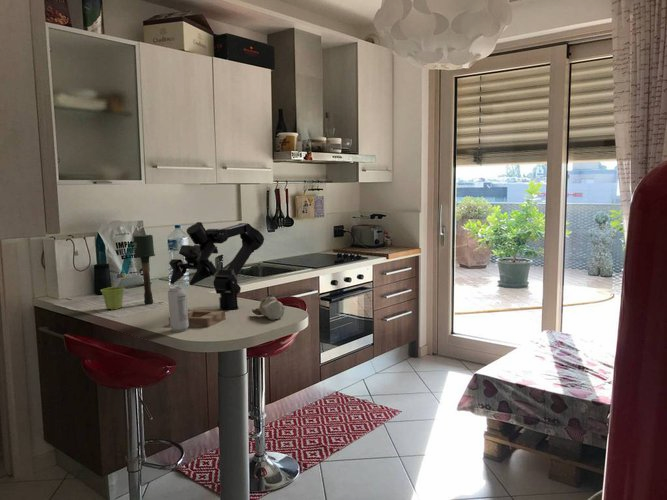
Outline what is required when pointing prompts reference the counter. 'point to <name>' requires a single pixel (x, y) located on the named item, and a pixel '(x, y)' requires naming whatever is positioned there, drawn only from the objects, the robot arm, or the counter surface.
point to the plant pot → (113, 297)
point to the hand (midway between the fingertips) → (180, 283)
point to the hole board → (204, 317)
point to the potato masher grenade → (145, 261)
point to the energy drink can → (178, 308)
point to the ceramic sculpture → (270, 308)
